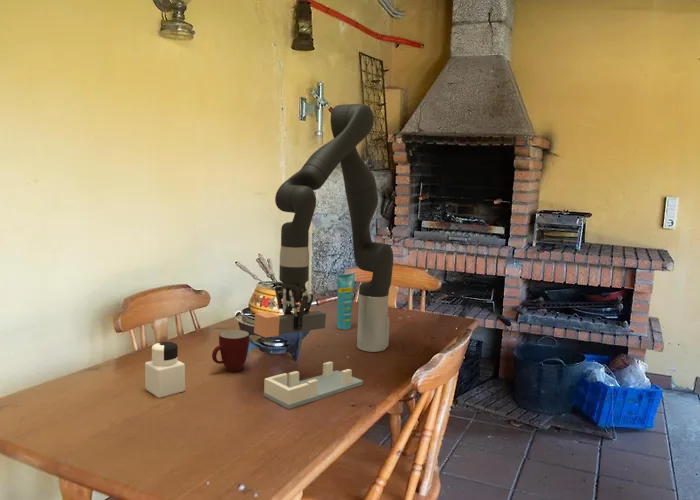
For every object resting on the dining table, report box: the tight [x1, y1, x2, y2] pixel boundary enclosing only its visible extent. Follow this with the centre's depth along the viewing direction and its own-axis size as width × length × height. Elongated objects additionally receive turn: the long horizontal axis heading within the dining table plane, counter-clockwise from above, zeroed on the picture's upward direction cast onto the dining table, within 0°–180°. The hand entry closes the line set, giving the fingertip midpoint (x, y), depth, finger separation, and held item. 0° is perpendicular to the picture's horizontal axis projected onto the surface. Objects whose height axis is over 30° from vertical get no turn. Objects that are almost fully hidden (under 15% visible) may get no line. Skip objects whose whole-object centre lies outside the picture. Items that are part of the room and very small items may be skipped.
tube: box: [336, 272, 356, 330], centre depth 205 cm, size 7×5×19 cm, turn 134°
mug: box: [211, 329, 250, 373], centre depth 161 cm, size 10×8×10 cm
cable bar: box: [253, 310, 327, 338], centre depth 154 cm, size 20×5×5 cm, turn 133°
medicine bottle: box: [144, 341, 186, 399], centre depth 146 cm, size 7×7×12 cm
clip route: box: [263, 361, 364, 410], centre depth 150 cm, size 24×10×4 cm, turn 134°
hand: (292, 327), depth 155 cm, fingers closed on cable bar, 3 cm apart
